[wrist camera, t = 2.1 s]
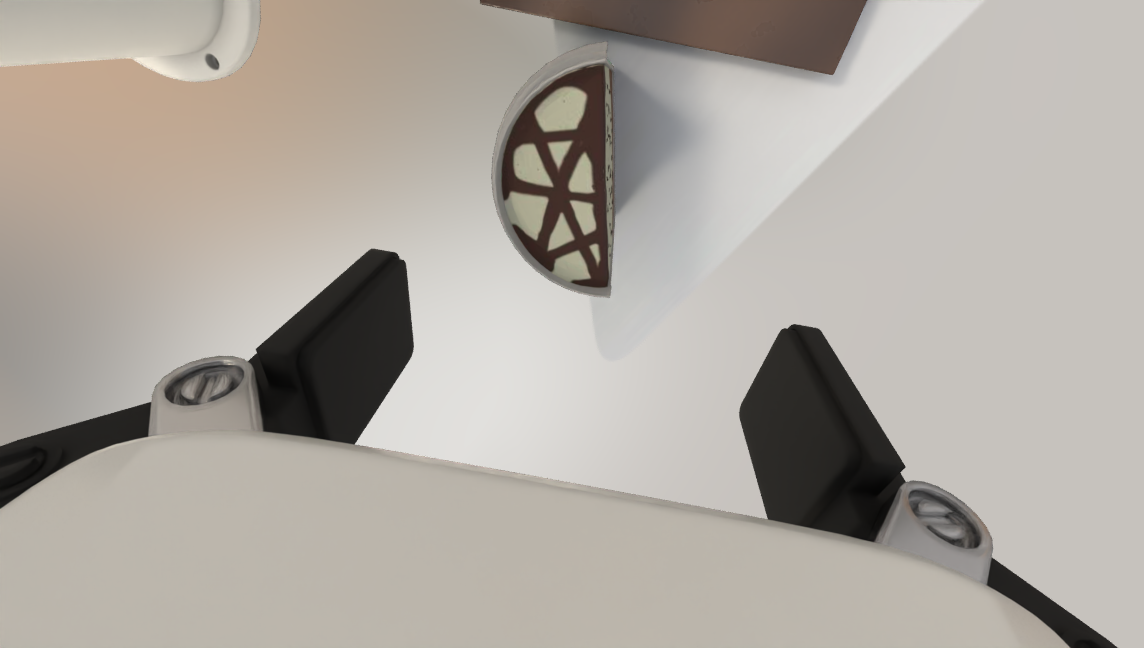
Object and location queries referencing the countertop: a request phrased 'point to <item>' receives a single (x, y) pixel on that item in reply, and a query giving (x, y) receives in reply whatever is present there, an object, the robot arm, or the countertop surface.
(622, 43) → the countertop surface
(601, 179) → the food container
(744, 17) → the cutting board
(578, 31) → the countertop surface
